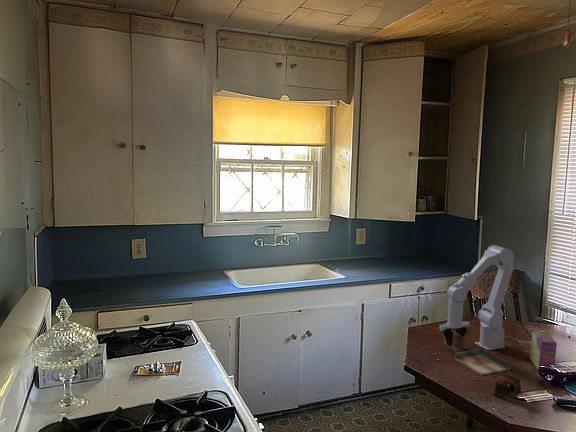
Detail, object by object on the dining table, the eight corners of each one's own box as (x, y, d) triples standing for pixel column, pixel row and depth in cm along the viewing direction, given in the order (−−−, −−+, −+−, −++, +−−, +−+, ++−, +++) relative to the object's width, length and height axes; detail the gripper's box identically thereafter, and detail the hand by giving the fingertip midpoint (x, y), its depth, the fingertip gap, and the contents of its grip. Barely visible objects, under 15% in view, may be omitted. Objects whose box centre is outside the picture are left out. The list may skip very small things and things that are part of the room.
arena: (481, 354, 189) (482, 348, 189) (510, 369, 175) (510, 363, 175) (454, 358, 185) (454, 352, 184) (481, 375, 171) (481, 368, 170)
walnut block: (451, 344, 200) (452, 330, 199) (464, 351, 192) (465, 337, 192) (443, 345, 198) (443, 332, 198) (455, 352, 191) (456, 338, 190)
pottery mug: (483, 390, 160) (490, 368, 162) (505, 400, 161) (511, 378, 163) (506, 399, 149) (513, 374, 150) (530, 409, 150) (536, 385, 152)
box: (554, 372, 174) (557, 342, 172) (538, 370, 175) (540, 341, 173) (545, 360, 184) (547, 332, 182) (529, 359, 185) (531, 331, 183)
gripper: (462, 309, 200) (461, 339, 201) (435, 312, 195) (433, 343, 197) (474, 314, 193) (472, 345, 195) (445, 318, 188) (444, 349, 190)
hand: (453, 344), depth 195 cm, fingers closed on walnut block, 4 cm apart
